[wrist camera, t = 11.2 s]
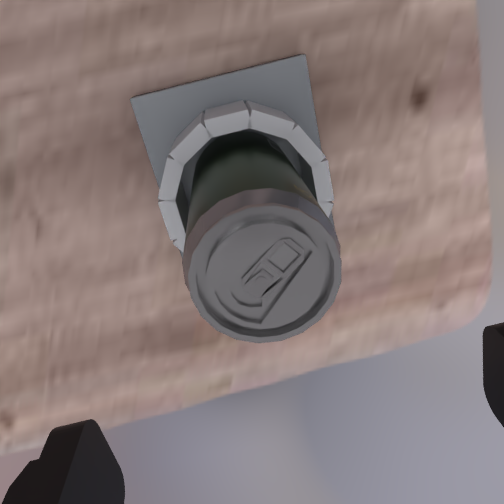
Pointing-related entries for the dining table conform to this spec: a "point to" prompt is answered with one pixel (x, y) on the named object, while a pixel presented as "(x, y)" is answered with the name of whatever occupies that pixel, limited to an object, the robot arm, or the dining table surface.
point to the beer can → (257, 243)
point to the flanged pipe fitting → (230, 129)
